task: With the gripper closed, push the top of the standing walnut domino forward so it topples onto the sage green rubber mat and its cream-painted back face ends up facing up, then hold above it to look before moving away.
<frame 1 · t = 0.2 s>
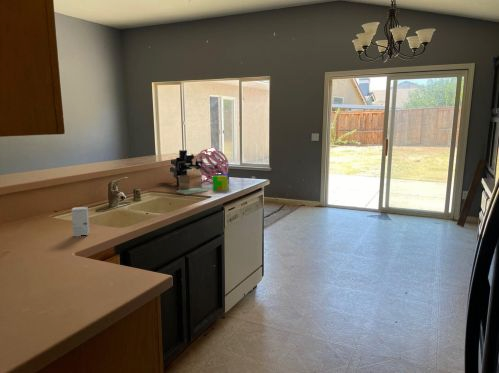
hand: (195, 167, 254), 16 cm above the worktop, tool horizontal, fingers open, 9 cm apart
skincare box: (82, 235, 158), on the worktop
spiral basket: (213, 181, 291), on the worktop
puzzle toy: (221, 189, 259), on the worktop
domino: (184, 189, 259), on the worktop
mat: (192, 191, 253), on the worktop
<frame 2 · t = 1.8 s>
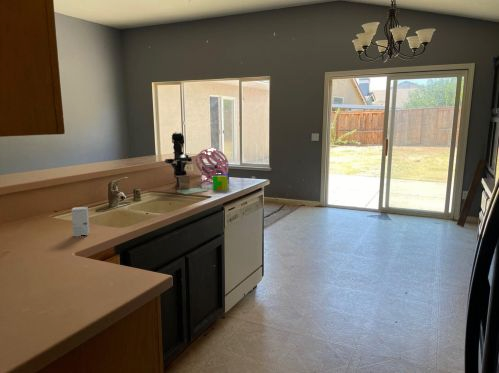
hand: (179, 172, 263), 12 cm above the worktop, tool pointing down, fingers open, 5 cm apart
nothing on the worktop moved.
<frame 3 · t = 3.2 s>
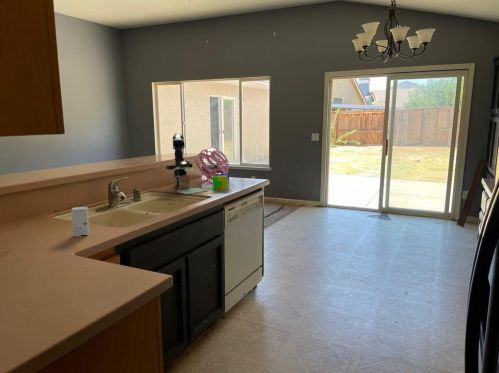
hand: (180, 178, 263), 8 cm above the worktop, tool pointing down, fingers closed
nothing on the worktop moved.
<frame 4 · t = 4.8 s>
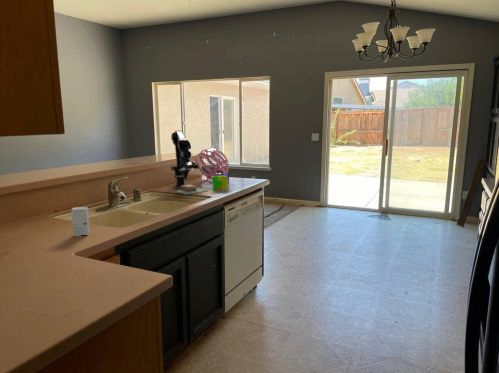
hand: (185, 179, 256), 8 cm above the worktop, tool pointing down, fingers closed
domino: (185, 187, 258), point 2 cm above the worktop, tilted 90°, touching mat
everything else where it was.
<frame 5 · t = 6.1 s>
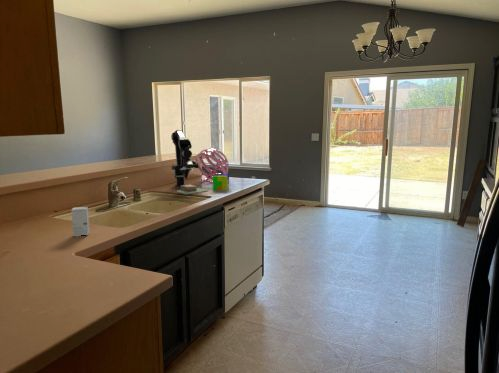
hand: (185, 178, 255), 8 cm above the worktop, tool pointing down, fingers closed
nothing on the worktop moved.
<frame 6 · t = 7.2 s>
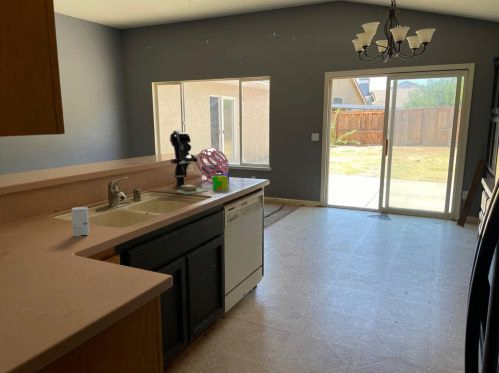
hand: (184, 172, 260), 12 cm above the worktop, tool pointing down, fingers closed
nothing on the worktop moved.
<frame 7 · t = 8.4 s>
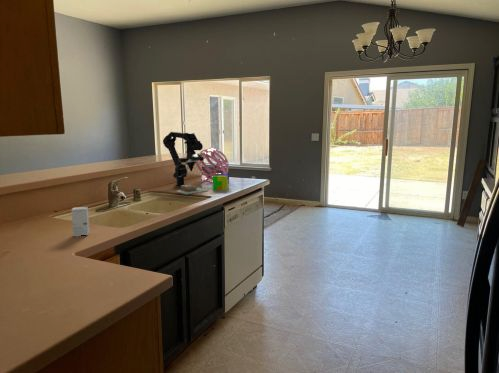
hand: (191, 171, 266), 12 cm above the worktop, tool pointing down, fingers closed
nothing on the worktop moved.
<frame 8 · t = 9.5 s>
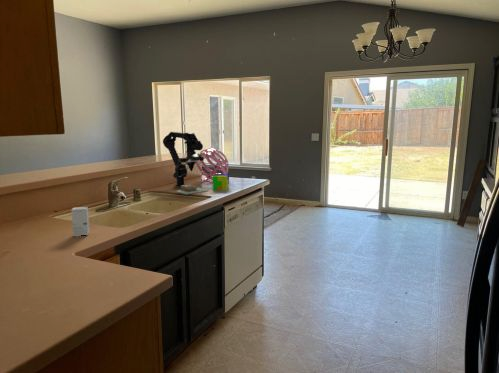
hand: (191, 171, 266), 12 cm above the worktop, tool pointing down, fingers closed
nothing on the worktop moved.
at the end: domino tilted 90°; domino touching mat; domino inside the target area (1.6 cm from its centre), point 2.0 cm above the worktop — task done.
